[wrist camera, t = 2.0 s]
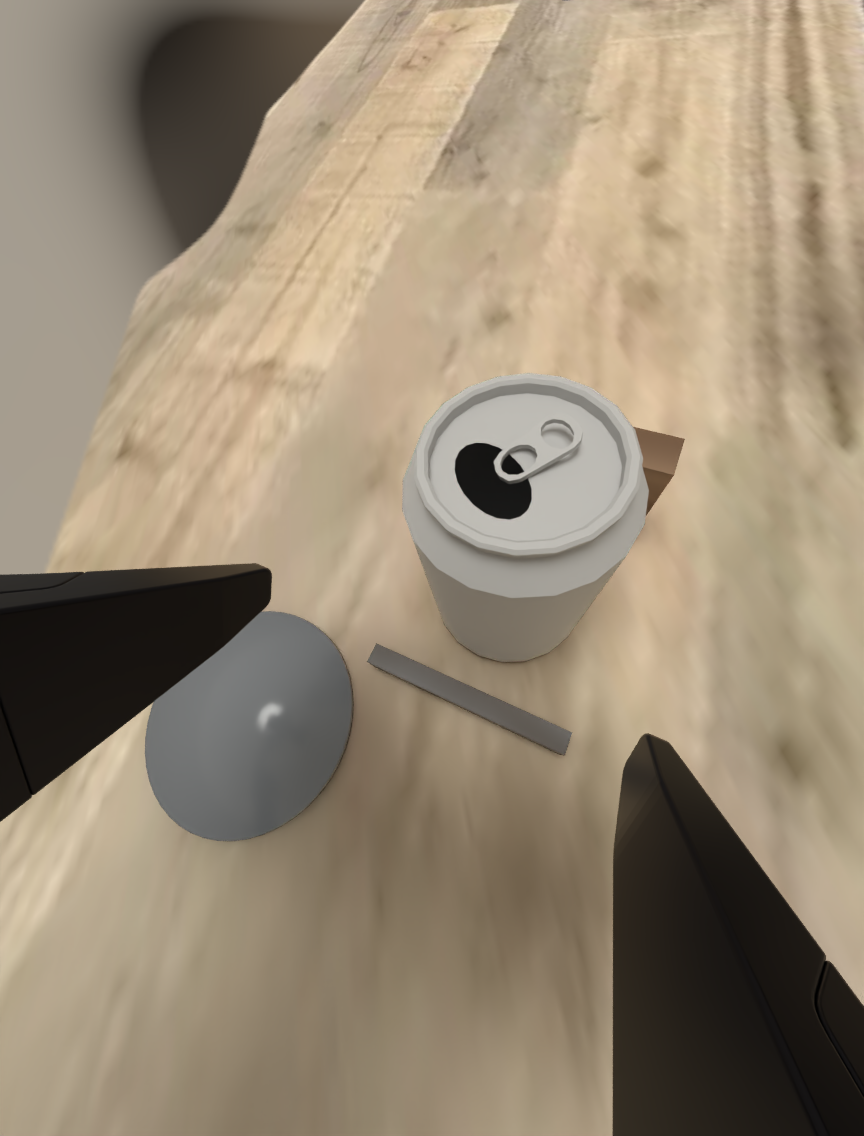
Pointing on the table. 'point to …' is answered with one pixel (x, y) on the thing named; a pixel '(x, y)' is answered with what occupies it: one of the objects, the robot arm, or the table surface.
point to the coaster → (251, 730)
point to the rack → (658, 473)
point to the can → (523, 509)
